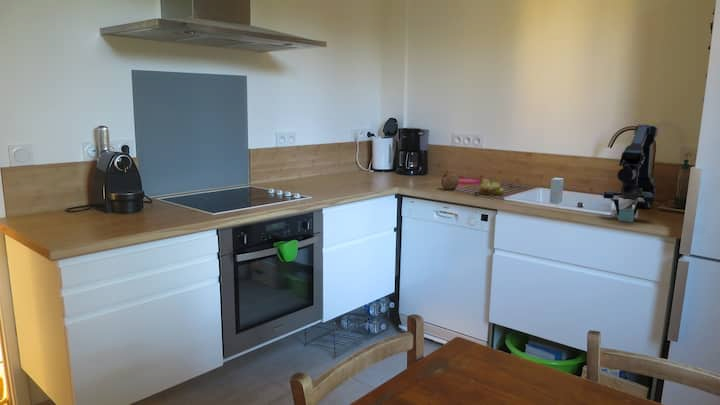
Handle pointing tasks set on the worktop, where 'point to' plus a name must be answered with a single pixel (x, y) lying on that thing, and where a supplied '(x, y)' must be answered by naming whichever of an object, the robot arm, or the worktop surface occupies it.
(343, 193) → the worktop surface
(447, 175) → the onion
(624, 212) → the teal block
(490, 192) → the green grapes
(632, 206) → the channel
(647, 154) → the robot arm
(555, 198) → the skincare box
